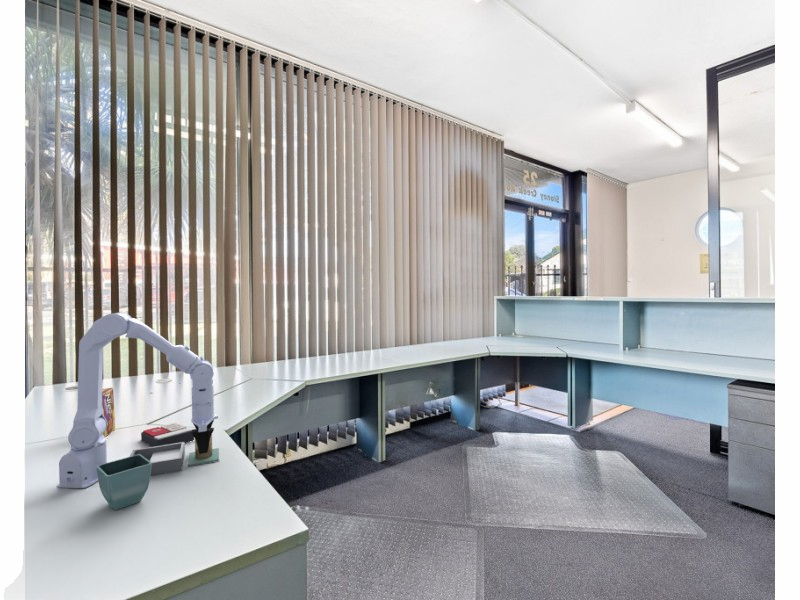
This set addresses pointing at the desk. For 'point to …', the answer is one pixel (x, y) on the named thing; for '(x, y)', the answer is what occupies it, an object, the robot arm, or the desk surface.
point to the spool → (204, 455)
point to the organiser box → (163, 457)
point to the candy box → (108, 409)
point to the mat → (194, 461)
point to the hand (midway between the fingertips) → (203, 448)
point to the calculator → (167, 435)
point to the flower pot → (124, 480)
